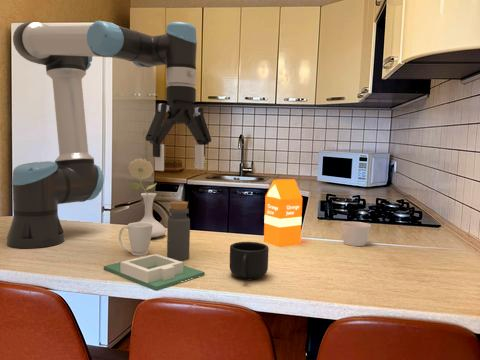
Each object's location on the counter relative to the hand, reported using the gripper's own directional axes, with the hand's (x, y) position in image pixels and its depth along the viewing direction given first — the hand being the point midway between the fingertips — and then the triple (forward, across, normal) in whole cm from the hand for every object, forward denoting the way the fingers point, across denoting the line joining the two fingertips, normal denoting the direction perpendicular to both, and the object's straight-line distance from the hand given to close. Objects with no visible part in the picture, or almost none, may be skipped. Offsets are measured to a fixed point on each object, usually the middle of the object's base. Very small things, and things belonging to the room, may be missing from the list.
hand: (180, 169), depth 109 cm
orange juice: (+24, +35, -9) cm, 43 cm away
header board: (+24, -12, -5) cm, 27 cm away
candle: (+24, +51, -26) cm, 62 cm away
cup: (+24, -5, +12) cm, 27 cm away
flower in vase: (+24, +9, +26) cm, 36 cm away
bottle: (+24, 0, 0) cm, 24 cm away
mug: (+24, +1, -23) cm, 33 cm away
